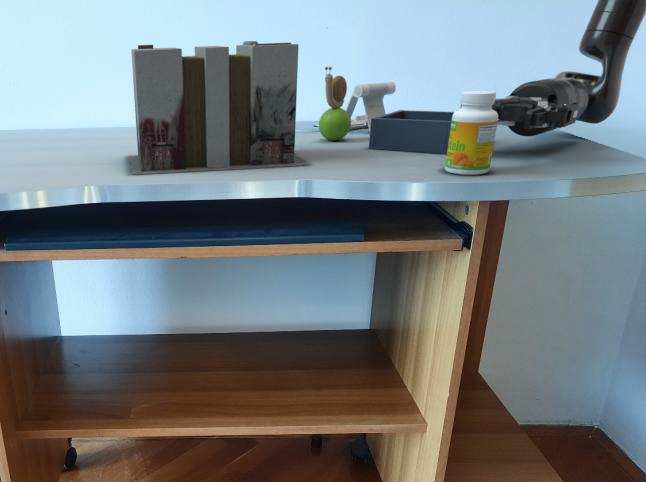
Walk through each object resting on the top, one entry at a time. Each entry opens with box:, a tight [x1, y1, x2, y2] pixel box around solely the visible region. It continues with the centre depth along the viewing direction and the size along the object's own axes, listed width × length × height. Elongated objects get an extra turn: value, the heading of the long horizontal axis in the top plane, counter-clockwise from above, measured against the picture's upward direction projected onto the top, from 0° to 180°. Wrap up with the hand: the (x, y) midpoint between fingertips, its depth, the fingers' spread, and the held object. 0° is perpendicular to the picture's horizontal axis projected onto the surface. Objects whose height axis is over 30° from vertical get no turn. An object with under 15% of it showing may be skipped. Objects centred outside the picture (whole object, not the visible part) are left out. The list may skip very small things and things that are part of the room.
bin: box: [368, 109, 456, 155], centre depth 102 cm, size 13×13×5 cm
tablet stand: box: [344, 81, 397, 133], centre depth 119 cm, size 9×8×8 cm
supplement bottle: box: [444, 90, 499, 176], centre depth 81 cm, size 5×5×10 cm
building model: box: [129, 40, 307, 176], centre depth 94 cm, size 16×25×16 cm, turn 96°
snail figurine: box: [318, 66, 352, 142], centre depth 108 cm, size 5×6×12 cm
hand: (494, 118), depth 85 cm, fingers open, 8 cm apart
